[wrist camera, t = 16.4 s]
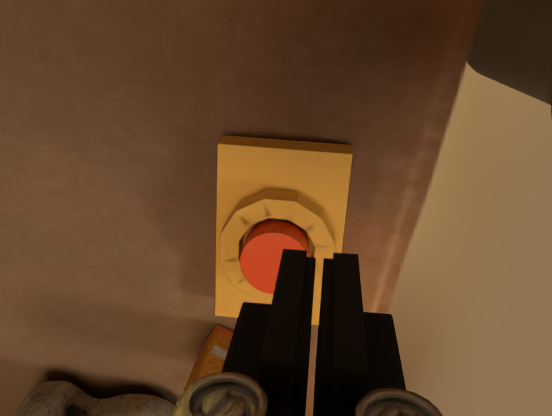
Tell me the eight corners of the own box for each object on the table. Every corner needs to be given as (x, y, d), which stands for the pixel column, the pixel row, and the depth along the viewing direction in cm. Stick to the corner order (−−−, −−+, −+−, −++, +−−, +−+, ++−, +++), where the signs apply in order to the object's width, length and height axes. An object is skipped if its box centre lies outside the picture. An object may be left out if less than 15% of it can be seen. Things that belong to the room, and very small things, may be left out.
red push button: (312, 223, 30) (311, 235, 29) (307, 282, 32) (306, 297, 30) (245, 217, 31) (240, 229, 29) (243, 276, 32) (238, 291, 30)
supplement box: (214, 319, 38) (178, 422, 28) (255, 341, 38) (233, 449, 29) (194, 351, 39) (154, 459, 30) (234, 371, 39) (206, 485, 30)
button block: (350, 144, 32) (354, 162, 28) (332, 309, 36) (333, 343, 33) (223, 135, 33) (211, 151, 29) (220, 298, 37) (209, 331, 33)
